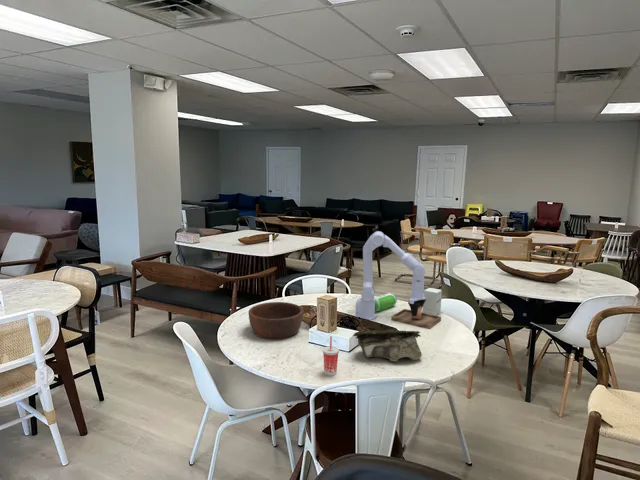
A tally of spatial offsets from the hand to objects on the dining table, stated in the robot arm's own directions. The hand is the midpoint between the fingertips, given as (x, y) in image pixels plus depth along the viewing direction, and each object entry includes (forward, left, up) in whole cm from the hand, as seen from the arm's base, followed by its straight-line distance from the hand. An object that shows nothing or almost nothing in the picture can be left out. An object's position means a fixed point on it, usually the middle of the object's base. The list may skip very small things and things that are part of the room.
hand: (416, 314), depth 209 cm
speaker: (-22, +6, -4) cm, 23 cm away
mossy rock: (+7, -46, -3) cm, 47 cm away
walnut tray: (0, 0, -3) cm, 3 cm away
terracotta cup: (0, 0, -2) cm, 2 cm away
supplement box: (+2, +16, -3) cm, 16 cm away
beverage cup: (-3, -71, -3) cm, 72 cm away
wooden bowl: (-46, -53, -3) cm, 71 cm away
